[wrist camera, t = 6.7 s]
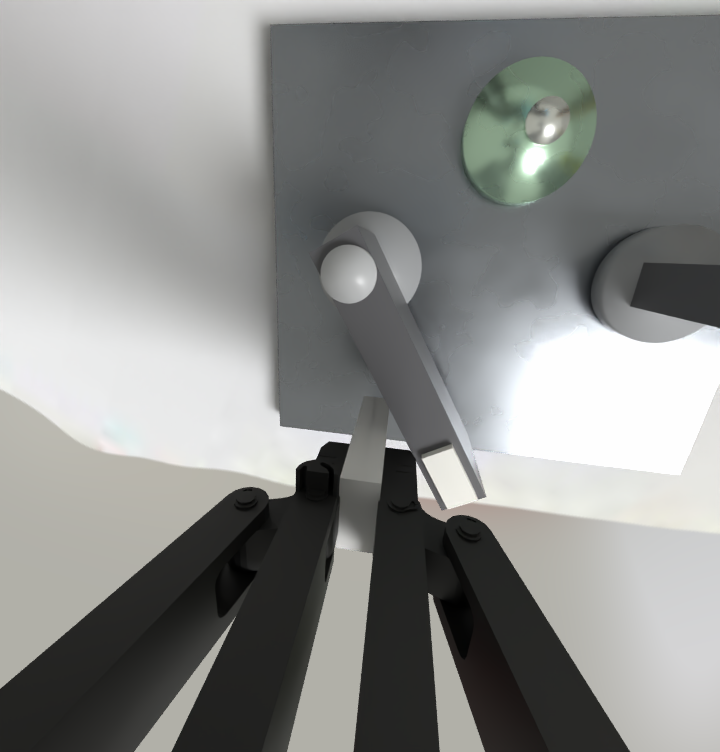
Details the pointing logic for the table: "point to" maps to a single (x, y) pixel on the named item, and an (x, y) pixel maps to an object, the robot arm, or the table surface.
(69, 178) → the table surface
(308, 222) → the plate
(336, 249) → the grey lever handle
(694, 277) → the grey lever handle
